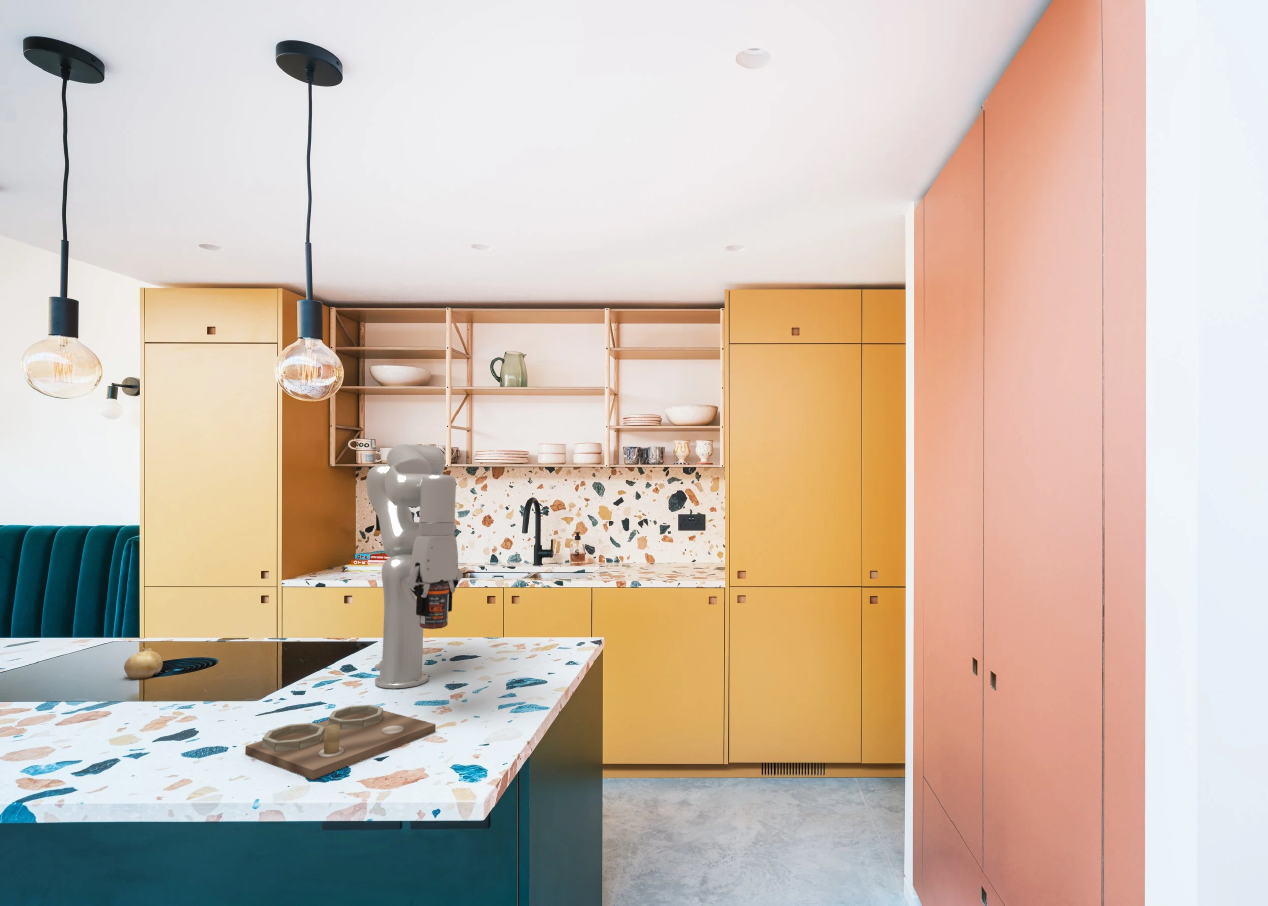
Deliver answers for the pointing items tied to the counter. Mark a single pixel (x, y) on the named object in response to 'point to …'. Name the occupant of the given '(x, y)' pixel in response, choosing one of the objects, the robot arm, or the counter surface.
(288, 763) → the board
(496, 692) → the counter surface
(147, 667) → the onion
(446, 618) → the supplement bottle
